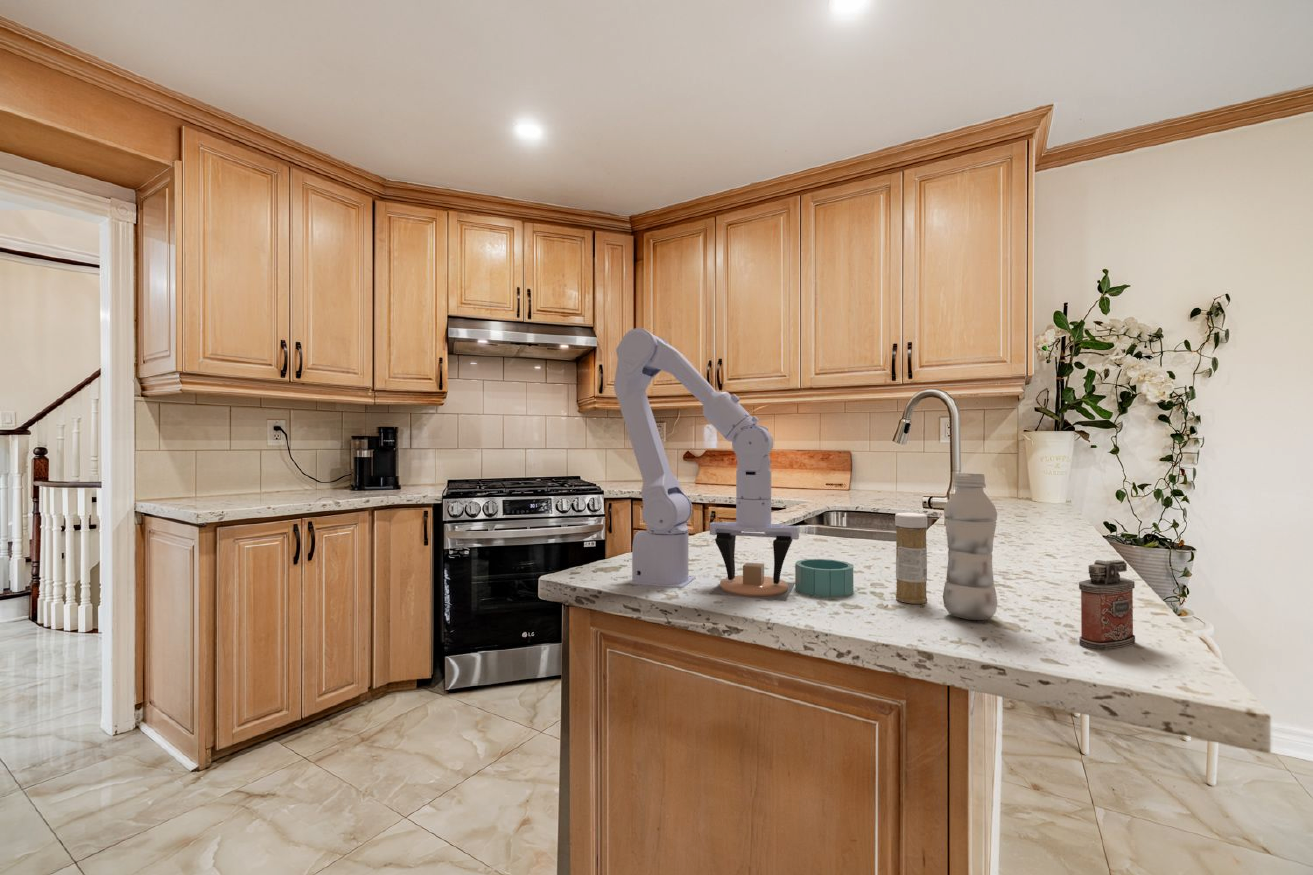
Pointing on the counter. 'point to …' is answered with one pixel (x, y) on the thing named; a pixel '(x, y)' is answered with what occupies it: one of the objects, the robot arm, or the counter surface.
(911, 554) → the sprinkles bottle
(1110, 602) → the lighter
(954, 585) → the plastic bottle
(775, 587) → the lid
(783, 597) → the mat
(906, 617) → the counter surface
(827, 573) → the bowl
